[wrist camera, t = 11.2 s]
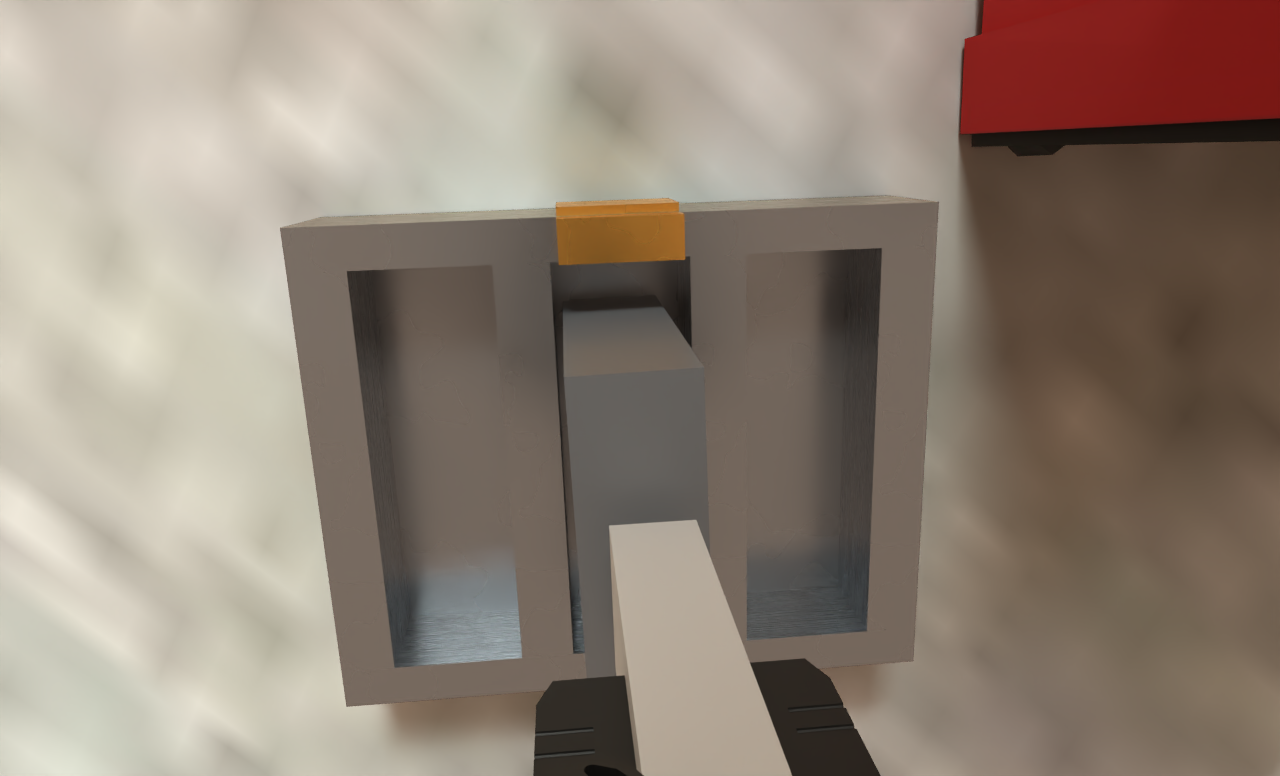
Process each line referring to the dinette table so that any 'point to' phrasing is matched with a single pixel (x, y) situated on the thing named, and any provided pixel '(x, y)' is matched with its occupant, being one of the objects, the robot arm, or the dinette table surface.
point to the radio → (1122, 73)
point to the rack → (538, 433)
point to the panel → (628, 440)
